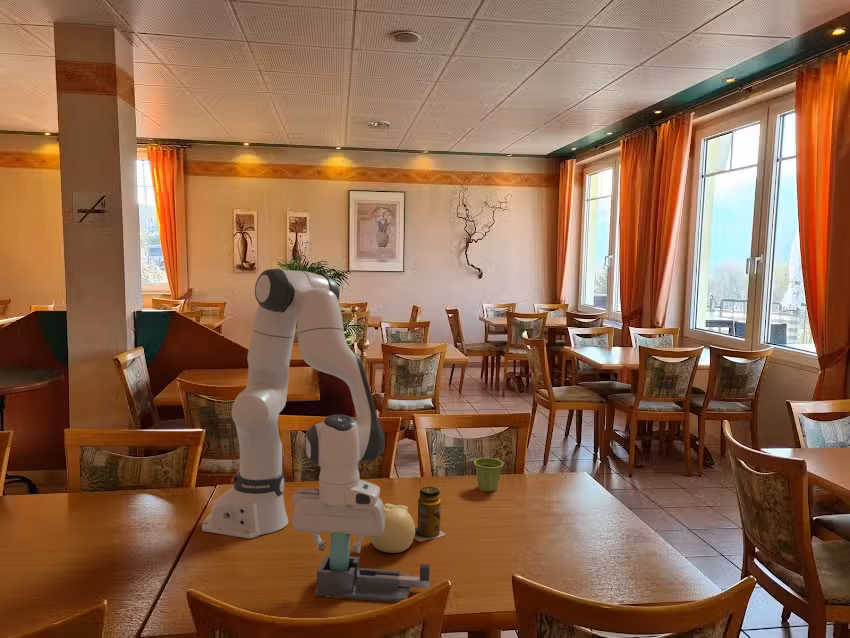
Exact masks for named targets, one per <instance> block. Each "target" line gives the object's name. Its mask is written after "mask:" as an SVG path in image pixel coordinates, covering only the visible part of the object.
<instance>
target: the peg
mask: <svg viewBox="0 0 850 638" xmlns="http://www.w3.org/2000/svg"><path fill="white" fill-rule="evenodd" d="M350 536H351V534H345V533H337V532H333V533H330V545H329V546H330V547H329V555H330V563H329V570H333V571H348V564H349V556H350V541H351V540H350V538H351V537H350Z"/></svg>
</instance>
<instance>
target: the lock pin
mask: <svg viewBox="0 0 850 638" xmlns="http://www.w3.org/2000/svg"><path fill="white" fill-rule="evenodd" d="M430 566H431V565H430V564H426V563H425V564H424V563H421V564H420V566H419V576H413V575H412V576H396V575H381V574H376V575H375V576H383V577H398V586H401V587H411V588H415V589H416V588H417V589H429V588H430V570H431V569H430V568H431V567H430Z"/></svg>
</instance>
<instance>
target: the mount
mask: <svg viewBox="0 0 850 638" xmlns="http://www.w3.org/2000/svg"><path fill="white" fill-rule="evenodd" d="M329 563H330V554H325V556H324V557H323V559H322V562H321V564H320V565H319V567H318V569H317V571H316V589H315V591H314V596H315V595H316V596H329V597H341V598H340V599H344V598H352V599H351V600H359V599H362V600H361V601H375V602H376V601H377V602H389V603H390V602H391V603H400V602H399V601H401V600H404V599H407V598H408V599H409V597H410V593H411V592H410V591H411V588H412V587H401V586H398V577H383V576H375V575H376V574H381V575H396V576H412V577H413V574H409V573H408V574H407V573H401V570H396V569H395V570H394V569H383V568H382V569H379V568H367V567H366V568H365V567H363V568H362V567H360V556H352V555H351V556H350V555H349V564H348V571H333V570H329ZM329 597H328V598H329ZM363 599H364V600H363Z"/></svg>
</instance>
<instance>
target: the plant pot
mask: <svg viewBox="0 0 850 638" xmlns="http://www.w3.org/2000/svg"><path fill="white" fill-rule="evenodd" d="M473 464H474V466H475V470H476V481H477V488H478V489H479V490H480V491H481V492H486V491H489V492H495V490H496V491H497V490H498V486H499V480H500V474H501V470H502V467H504V462H503V461H502V460H500V459H497V458H492V457H478V458H477V459H475V460H474V461H473ZM489 492H488V493H489Z"/></svg>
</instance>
